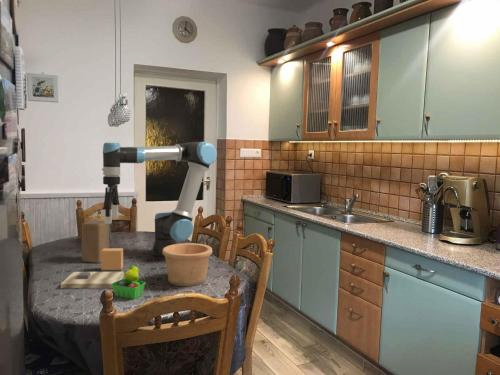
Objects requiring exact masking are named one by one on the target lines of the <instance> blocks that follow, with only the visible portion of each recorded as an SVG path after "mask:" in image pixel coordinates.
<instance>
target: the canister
mask: <svg viewBox="0 0 500 375" xmlns="http://www.w3.org/2000/svg"><path fill="white" fill-rule="evenodd" d="M92 220H98V221H105V216H102V214H101V213H98V214H97V215H96V216H93V217H92V218H90V219H89V221H92ZM89 221H88V222H89ZM111 240H112V237H111V224H109V244H110V243H111Z"/></svg>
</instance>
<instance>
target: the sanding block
mask: <svg viewBox="0 0 500 375" xmlns="http://www.w3.org/2000/svg"><path fill="white" fill-rule="evenodd" d="M100 269H101V271H100V272H123V269H124V248H123V247H121V248H120V247H119V248H118V247H113V248H110V247H109V248H104V249H103V250H102V251H101V262H100Z"/></svg>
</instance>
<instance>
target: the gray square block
mask: <svg viewBox="0 0 500 375" xmlns="http://www.w3.org/2000/svg"><path fill="white" fill-rule="evenodd" d="M86 272H87V273H80V274H79V275H78V279H88V278H89V277H90V272H91V271H86Z"/></svg>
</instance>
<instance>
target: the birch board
mask: <svg viewBox="0 0 500 375" xmlns="http://www.w3.org/2000/svg"><path fill="white" fill-rule="evenodd" d="M87 272H88V271H73V272H72V273H70V275H68V276H67V277H66V279H64V280H63V281H62V282H61V283H60V289H61V288H79V289H113V286H112V283H114V282H117V281H119V280H121V279H124V277H125V272H124V271H121V272H101V271H89V272H90V277H89V278H88V279H78V275H79V274H80V273H87Z"/></svg>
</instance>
